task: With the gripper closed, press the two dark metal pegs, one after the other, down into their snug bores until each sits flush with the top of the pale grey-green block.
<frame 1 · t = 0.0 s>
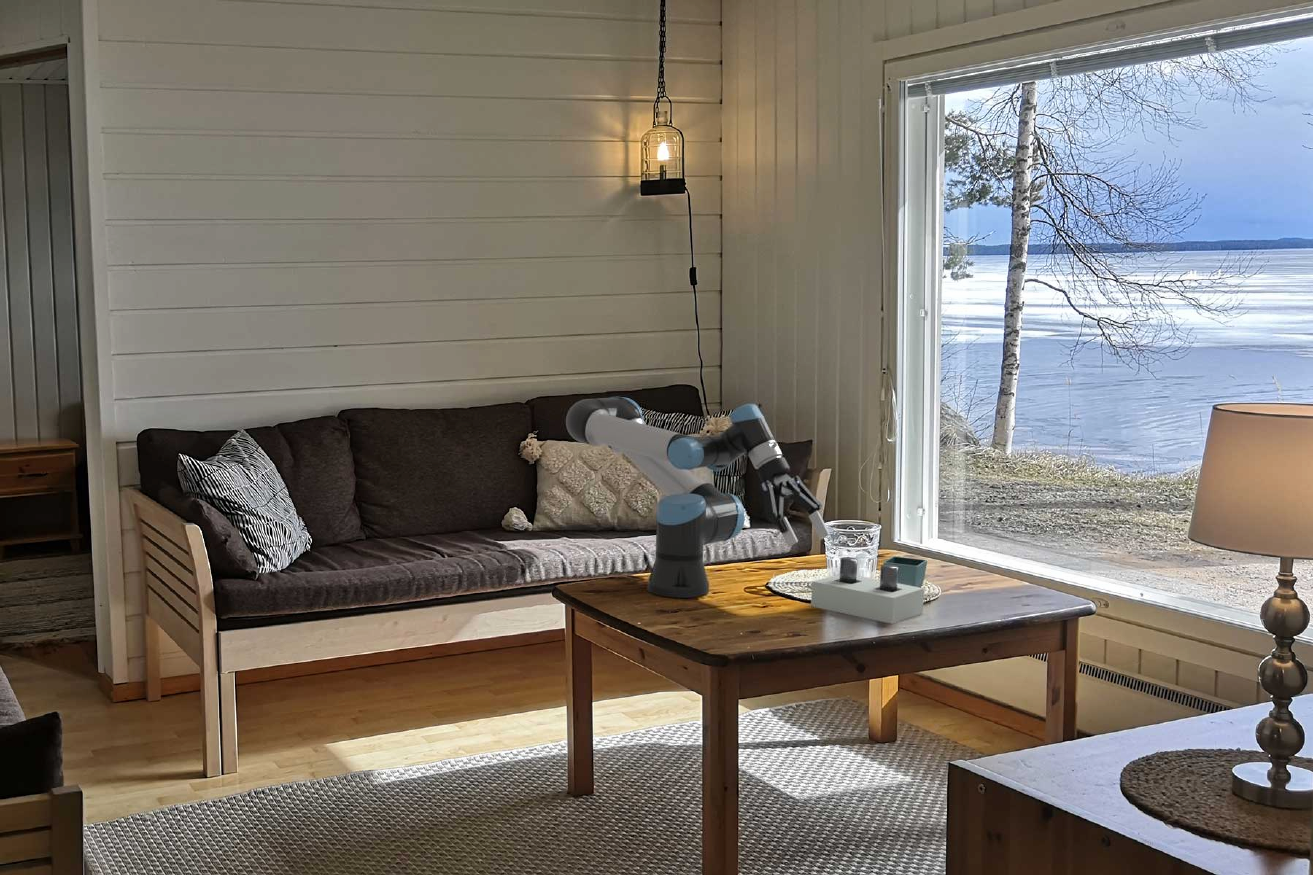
hand: (809, 540, 309), 15 cm above the table, tool tilted 35°, fingers open, 13 cm apart
right peg: (888, 579, 303), point 8 cm above the table, slide at 5.0 cm
flower pot: (903, 597, 322), on the table
peg block: (866, 609, 307), on the table
left peg: (848, 571, 310), point 8 cm above the table, slide at 5.0 cm
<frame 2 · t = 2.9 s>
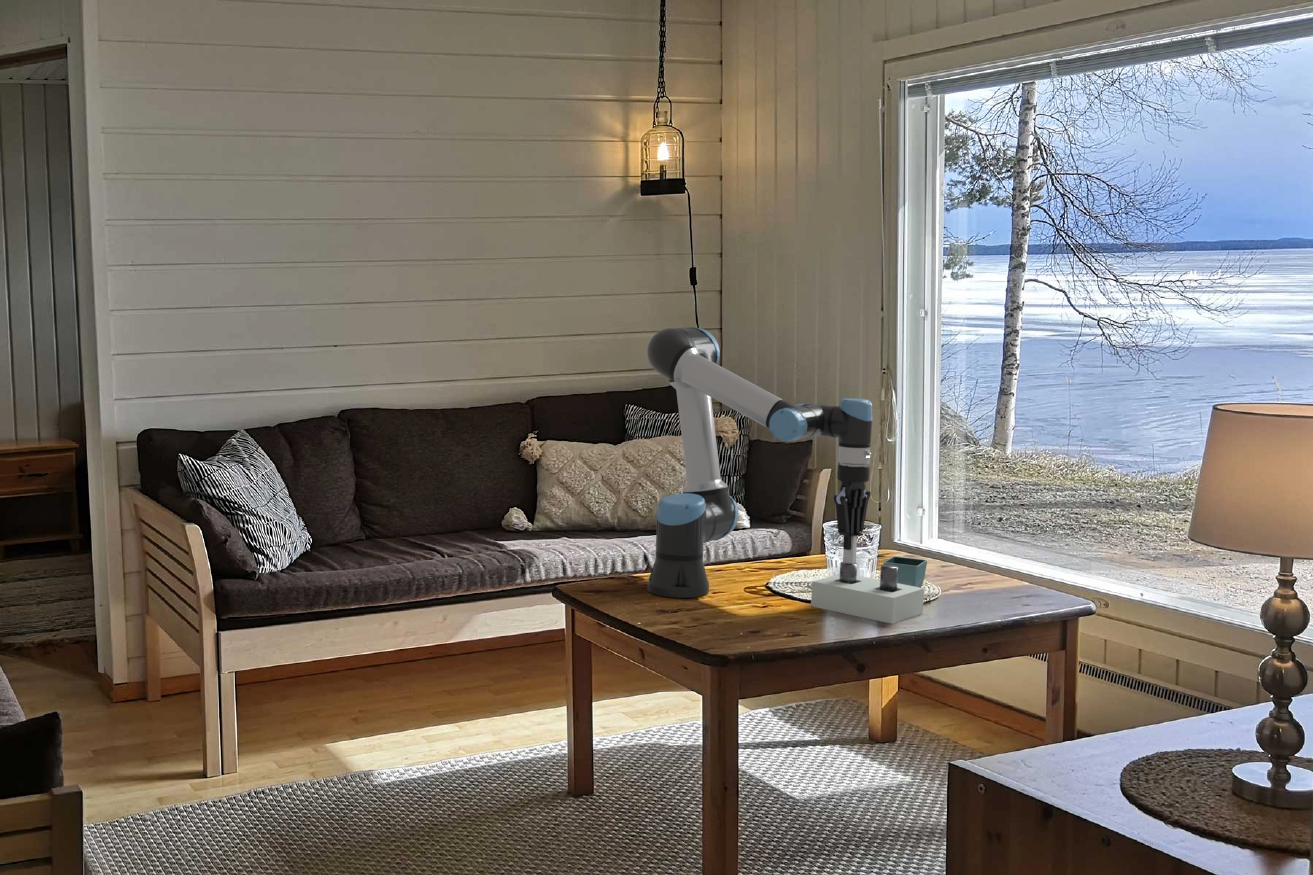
hand: (849, 562, 309), 10 cm above the table, tool pointing down, fingers closed
left peg: (848, 575, 310), point 7 cm above the table, slide at 3.9 cm, touching gripper
everything else where it was.
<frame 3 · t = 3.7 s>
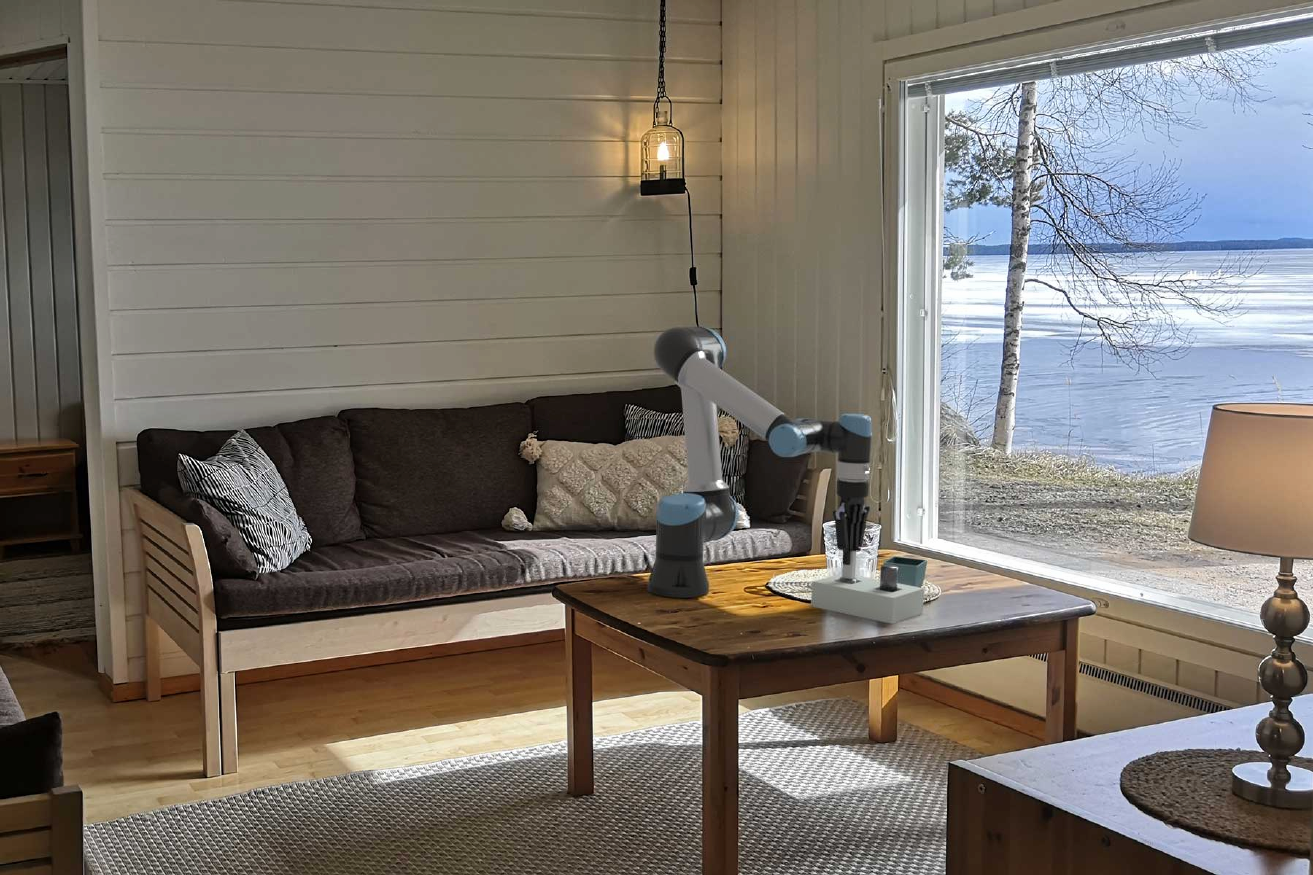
hand: (848, 577, 310), 7 cm above the table, tool pointing down, fingers closed
left peg: (847, 590, 310), point 4 cm above the table, slide at 0.3 cm, touching gripper
everything else where it was.
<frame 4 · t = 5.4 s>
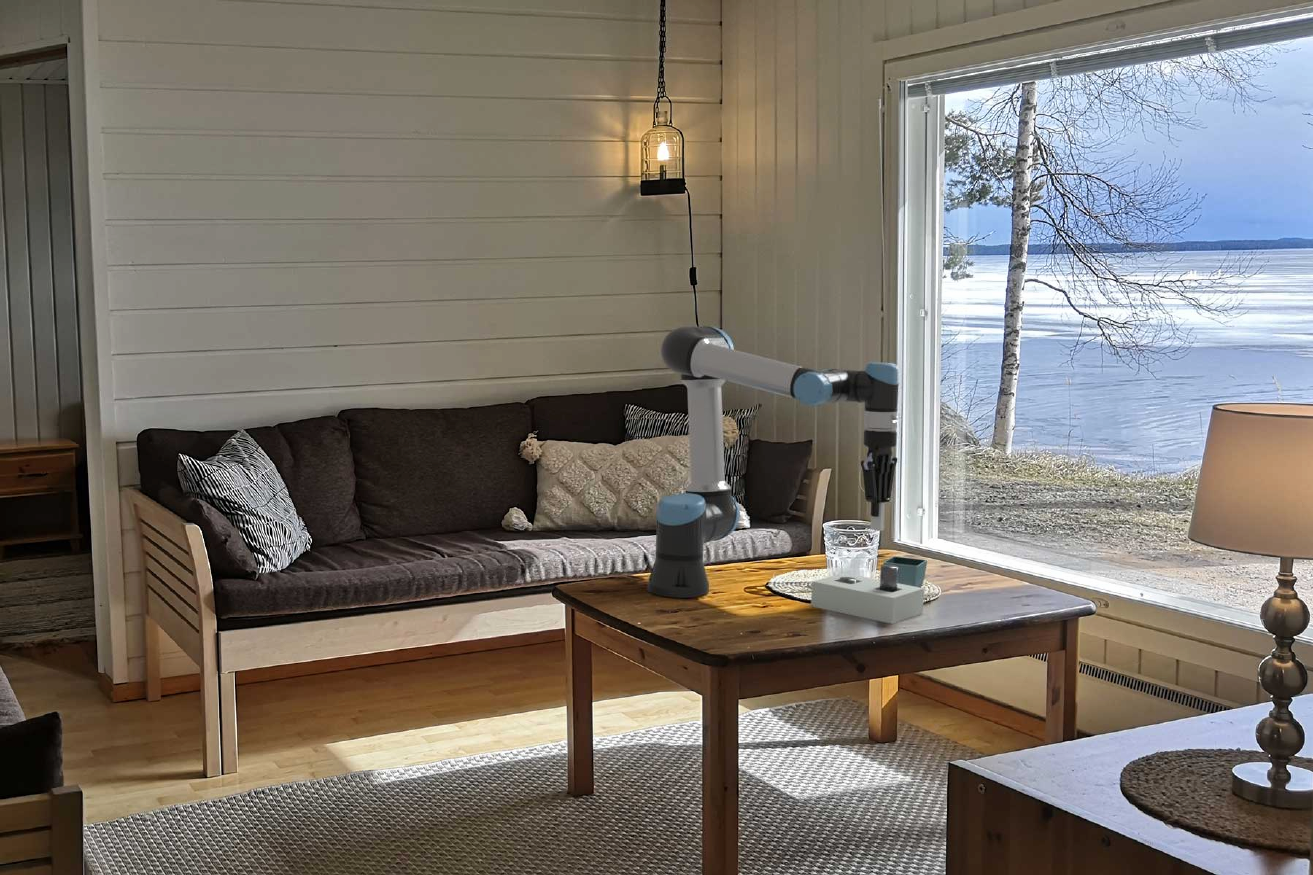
hand: (877, 529, 304), 19 cm above the table, tool pointing down, fingers closed
left peg: (847, 591, 310), point 3 cm above the table, slide at 0.2 cm
everything else where it was.
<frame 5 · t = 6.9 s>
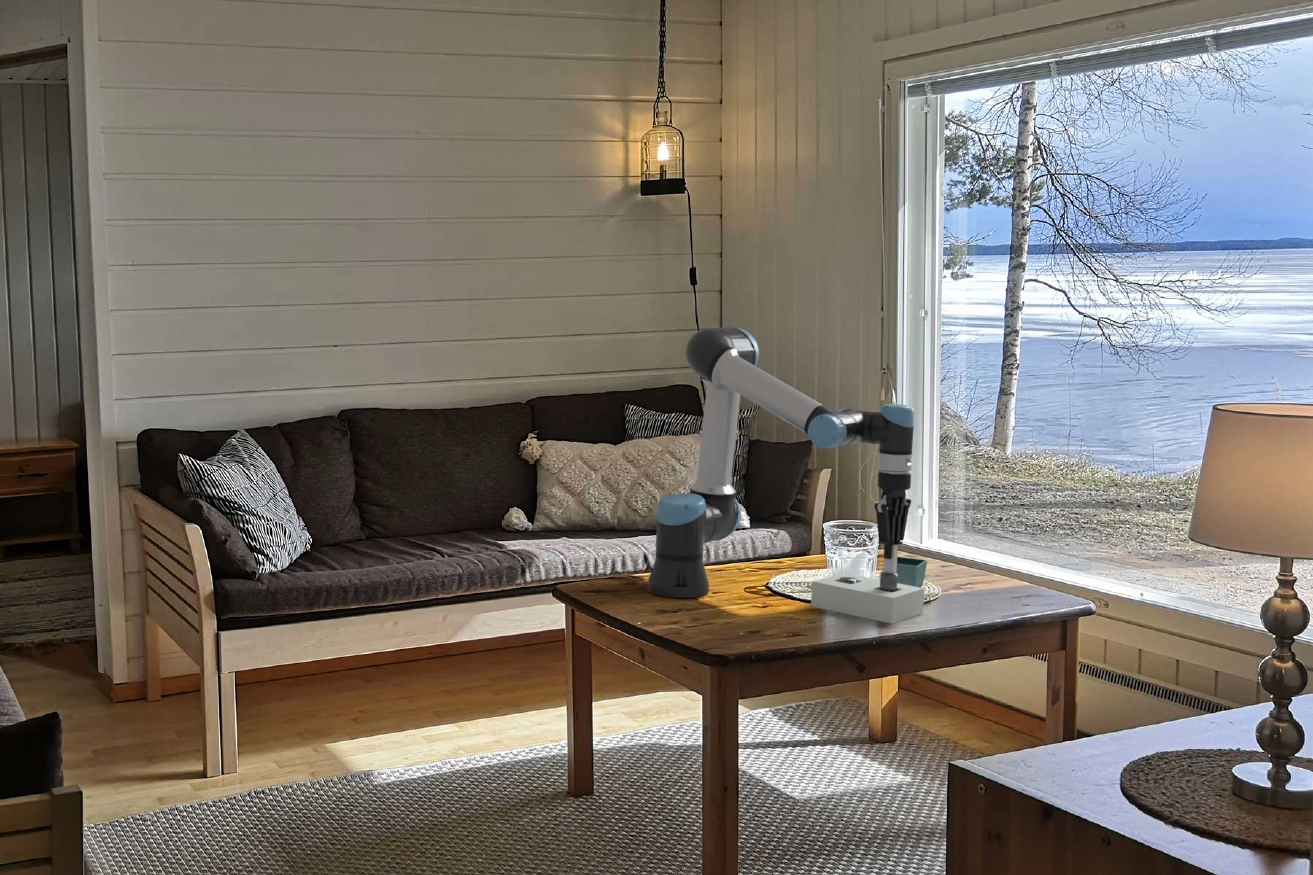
hand: (889, 571, 302), 10 cm above the table, tool pointing down, fingers closed
right peg: (888, 585, 303), point 7 cm above the table, slide at 3.5 cm, touching gripper
everything else where it was.
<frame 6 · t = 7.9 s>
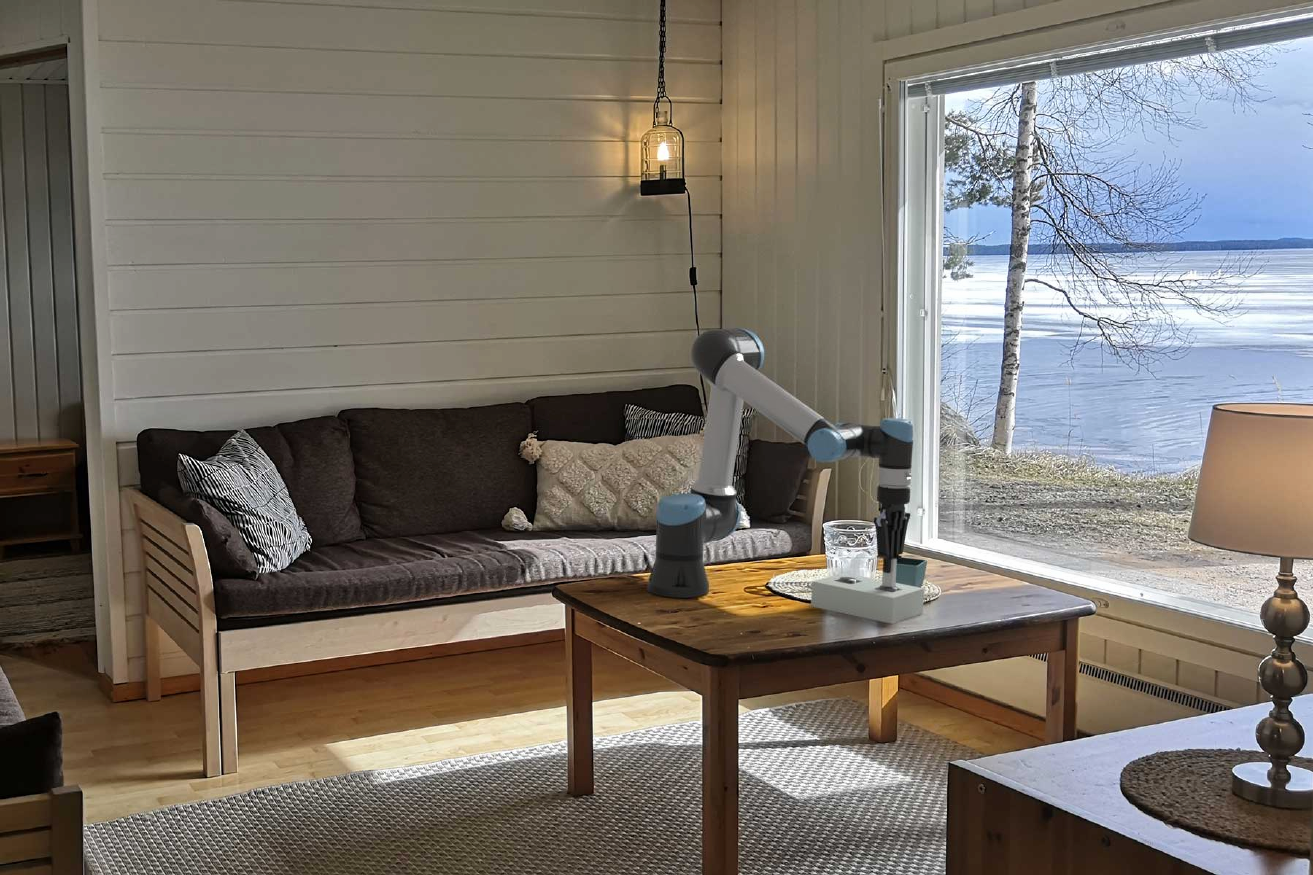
hand: (888, 585, 303), 7 cm above the table, tool pointing down, fingers closed
right peg: (887, 599, 303), point 4 cm above the table, slide at 0.2 cm, touching gripper
everything else where it was.
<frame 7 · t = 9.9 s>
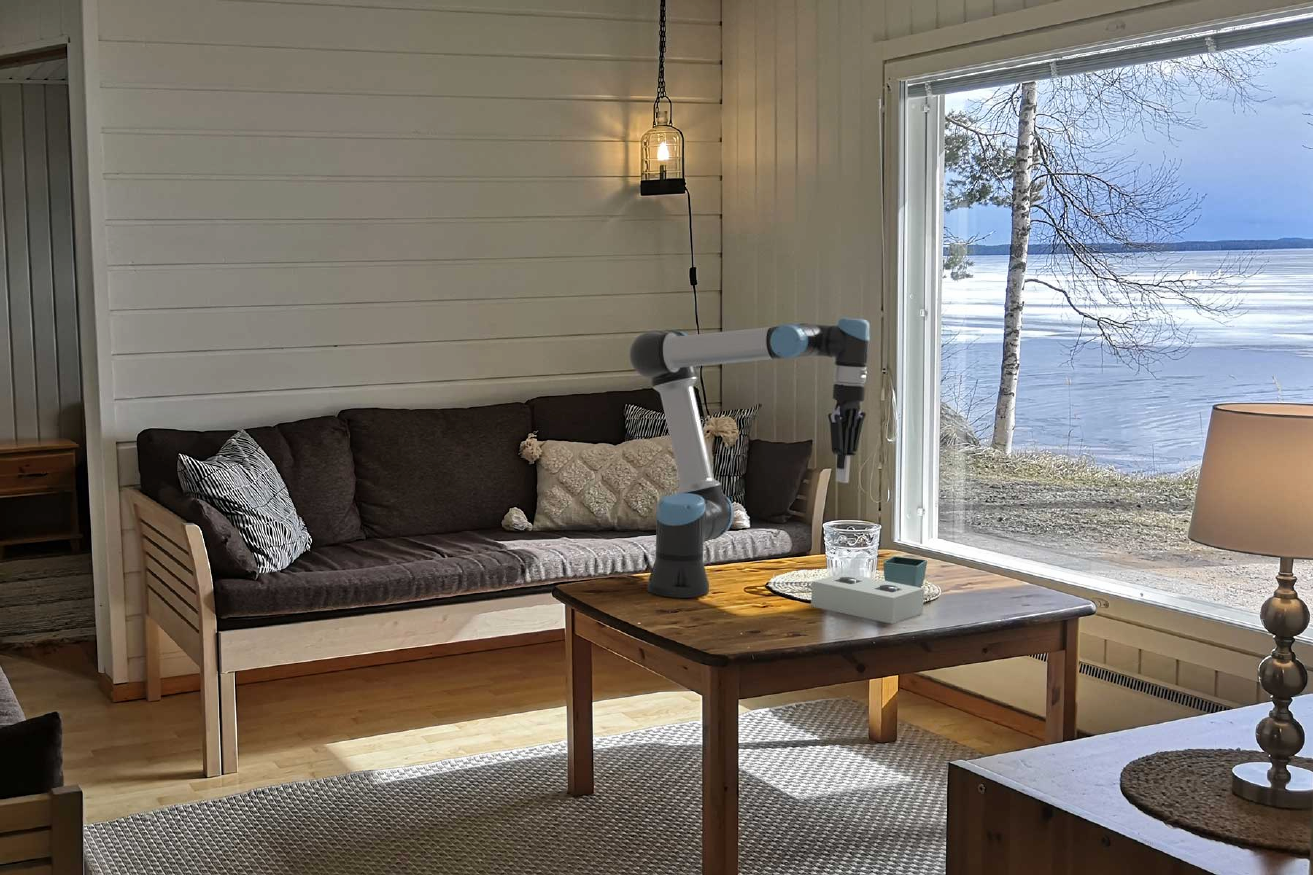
hand: (842, 481, 311), 29 cm above the table, tool pointing down, fingers closed
right peg: (887, 599, 303), point 4 cm above the table, slide at 0.2 cm
everything else where it was.
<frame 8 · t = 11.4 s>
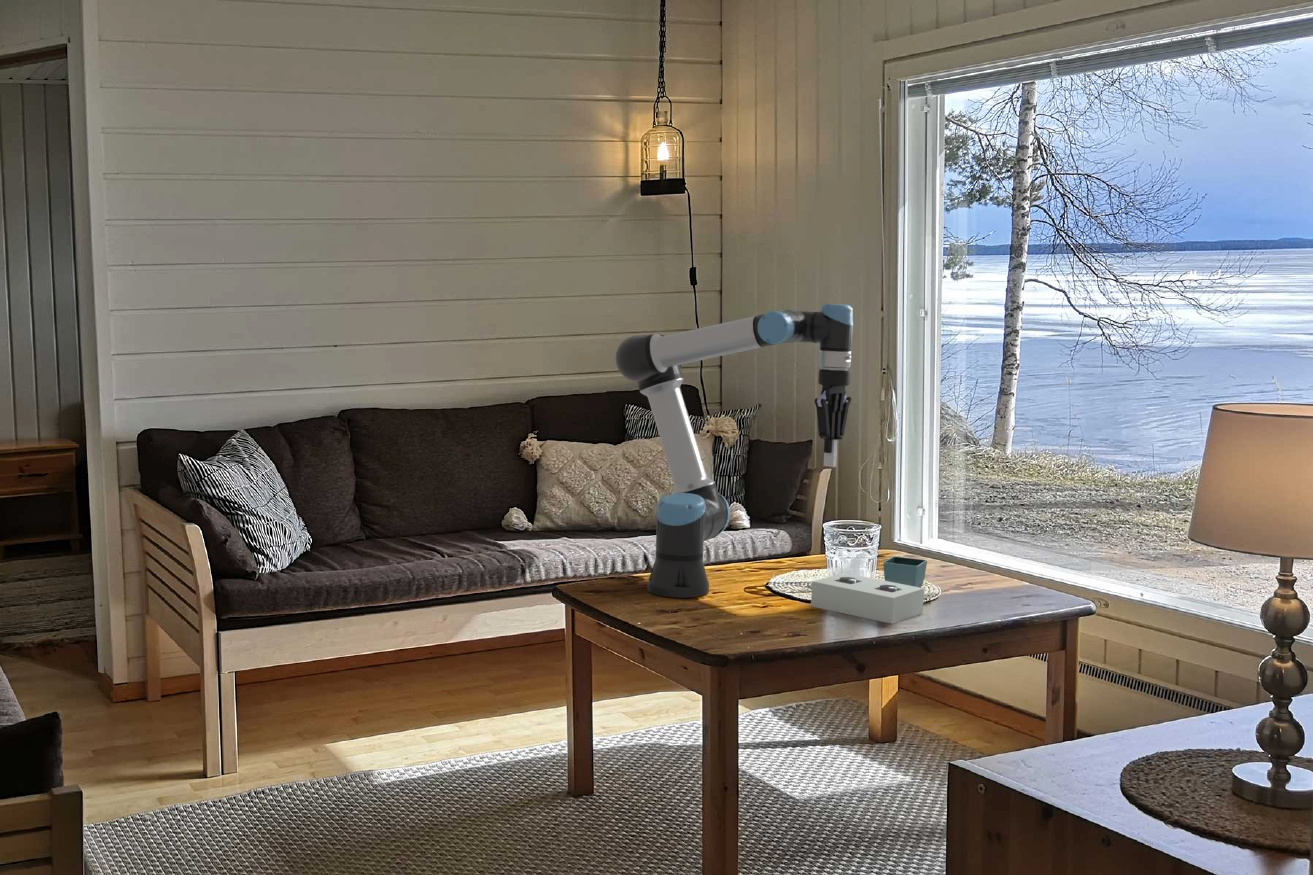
hand: (829, 466, 315), 32 cm above the table, tool pointing down, fingers closed
nothing on the table moved.
at the end: left peg slide at 0.2 cm; right peg slide at 0.2 cm; flower pot moved 0.2 cm from its start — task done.
